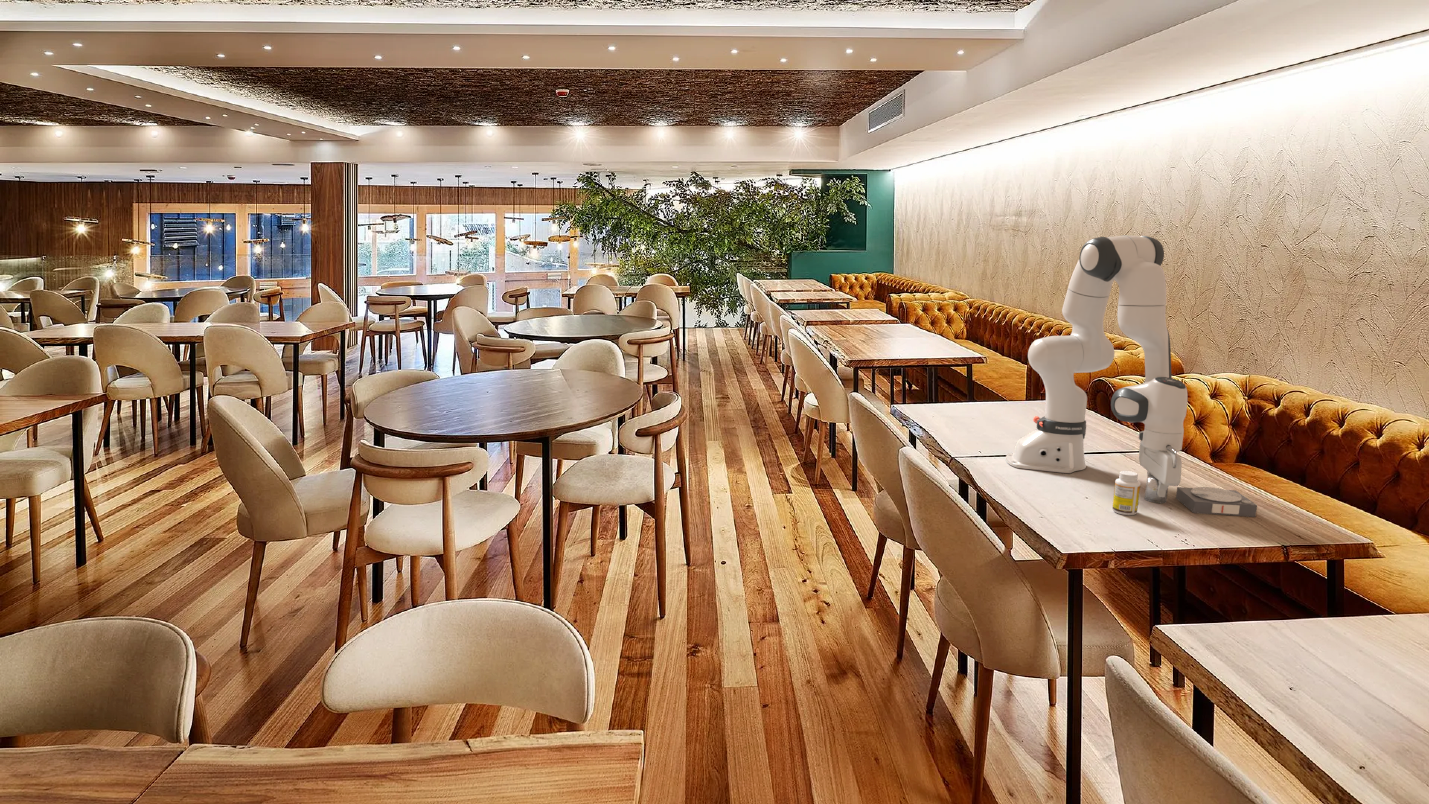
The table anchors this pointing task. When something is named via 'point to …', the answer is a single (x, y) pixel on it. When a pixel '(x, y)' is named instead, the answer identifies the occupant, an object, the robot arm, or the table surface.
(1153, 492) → the cylinder
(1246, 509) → the scale base
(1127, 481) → the supplement bottle
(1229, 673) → the table surface
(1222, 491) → the scale pan
